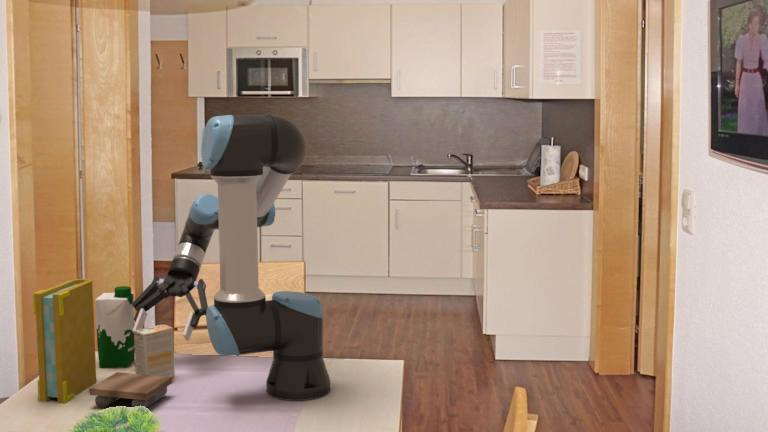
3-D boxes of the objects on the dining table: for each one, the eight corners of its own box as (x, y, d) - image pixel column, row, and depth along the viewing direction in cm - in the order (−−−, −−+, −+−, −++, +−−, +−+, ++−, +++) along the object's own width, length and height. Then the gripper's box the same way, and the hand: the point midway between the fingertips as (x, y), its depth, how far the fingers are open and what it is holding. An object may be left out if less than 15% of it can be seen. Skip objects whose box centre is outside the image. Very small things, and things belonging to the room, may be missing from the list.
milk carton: (129, 369, 234) (127, 291, 231) (94, 368, 234) (90, 291, 231) (139, 358, 243) (136, 284, 240) (104, 358, 243) (101, 284, 240)
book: (65, 403, 209) (60, 295, 206) (38, 400, 210) (32, 293, 207) (102, 379, 225) (98, 279, 222) (77, 378, 227) (72, 278, 223)
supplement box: (164, 374, 230) (163, 323, 228) (175, 379, 226) (174, 327, 224) (135, 382, 224) (133, 329, 222) (145, 386, 221) (143, 333, 219)
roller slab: (172, 395, 214) (171, 376, 214) (147, 413, 203) (146, 393, 202) (117, 390, 218) (117, 372, 217) (90, 407, 206) (89, 388, 205)
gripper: (235, 275, 241) (212, 346, 229) (148, 269, 247) (121, 339, 235) (226, 258, 235) (202, 331, 223) (137, 253, 241) (109, 324, 229)
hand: (160, 335), depth 229 cm, fingers open, 13 cm apart
